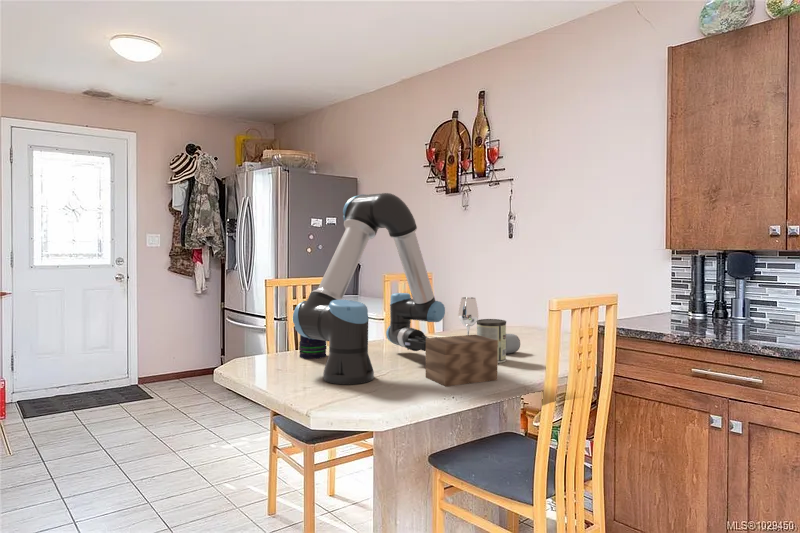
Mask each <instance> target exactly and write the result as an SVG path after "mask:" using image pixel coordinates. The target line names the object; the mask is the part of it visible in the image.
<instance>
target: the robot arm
mask: <svg viewBox="0 0 800 533" xmlns="http://www.w3.org/2000/svg"><path fill="white" fill-rule="evenodd" d="M342 214H343V215H342V218H343V227H344V229H345V230H344V232H343V234H342V236H341V238H340V240H339V243H338V245H337V246H336V249H335V252H334V254H333V255H332V258H331V259H330V261H329V264H328V265H327V266H328V267H327V268H326V271H325V272H324V275H323V277H322V278H321V281H320V283H319V286H318V288H317V289H314V290H312V291H311V292H309V296H308V297H307V300H303V301H302V302H299V303H298V304H297V305H296V306H295V308H294V310H293V314H292V323H293V324H294V325H293V326H294V329H295V331H296V332H297V333H298V334H299V336H300V335H301V336H303V337H307V338H309V339H318V340H324V341H326V342H328V345H329V346H328V347H329V352H328V356H327V360H326V362H325V366H324V369H323V374H322V375H323V376H322V377H323V378H322V379H323V381H325V382H327V383H331V384H334V385H335V384H336V385H359V384H364V383H365V384H366V383H369V382H371V381H373V380H374V378H375V376H374V375H375V374H374V373H375V372H374V368H373V365H372V362H371V359H370V355H369V310H368V306H367V305H366V304H365V303H363V302H362V301H361V302H360V301H358V300H352V299H351V300H349V299H348V300H347V299H343V298H344V296H345V295H346V294H345V293H346V291H347V289H348V287H349V285H350V283H351V280H352V278H353V276H354V274H355V272H356V269H357V267H358V266H359V265H358V264H359V262H360V260H361V258H362V255H363V253H364V251H365V250H366V247H367V245H368V243H369V240H372V239H375V237H376V235H377V233H378V231H379V229H386V230H387V232H388V235H389V237H390V238H392V239H393V240H394V243H395V247H396V249H397V250H396V251H397V252H398V256H399V259H400V263H401V265H402V268H403V272H404V275H405V278H406V281H407V284H408V287H409V291H410V293H411V294H410V293H408V292H395V293H394V292H393V293H391V295H390V303H389V306H390V309H389V310H390V315H389V316H390V318H389V319H390V323H389V326H387V329H386V332H385V336H386V339H387V340H388V341H389V342H390V343H392V344H394V345H396V346H400V347H402V348H405V349H406V350H407V351H413V352H418V351H423V352H426V338H429V337H427V336H426V334H425V333H424V332H423V331H422V330H420V329H416V328H414V327H411V321H420V322H421V321H422V322H426V323H427V322H428V323H439V322H441V321H443V319H444V317H445V314H446V307H445V305H444V304H443V302H442V301H439V300H436V298H435V295H434V294H435V293H434V292H433V291H434V290H433V289H432V284H431V282H430V278H429V275H428V272H427V268H426V265H425V260H424V258H423V254H422V251H421V247H420V244H419V240H418V236H417V234H416V232H417V229H418V226H417V223H416V219H415V217H414V215H413V213H412V211H411V209H409V207H408V205H407V204H406V203H405V202H404V201H403V200H402V198H400V197H398V196H397V195H396V194H392V193H389V192H382V193H371V194H363V193H362V194H359V195H354V196H352V197H351V198H349V199H348V200H347V201H346V202H345V204H344V206H343V208H342ZM434 338H437V336H436V337H434Z"/></svg>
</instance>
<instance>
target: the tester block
mask: <svg viewBox="0 0 800 533" xmlns="http://www.w3.org/2000/svg"><path fill="white" fill-rule="evenodd" d="M436 337H437V336H436ZM497 359H498V340H494V339H491V338H487V337H483V336H479V335H477V334H469V335H467V334H465V335H453V336H451V335H450V336H440V337H437V338H435V337H428V338H426V351H425V378H426V379H429V380H430V381H432V382H434V381H435V383H437V384H439V385H441V386H444V387H451V386H452V387H453V386H459V385H467V384H469V385H470V384H477V383H484V382H492V381H498V363H497Z"/></svg>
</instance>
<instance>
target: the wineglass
mask: <svg viewBox="0 0 800 533" xmlns="http://www.w3.org/2000/svg"><path fill="white" fill-rule="evenodd" d="M478 308H479V307H478V304H477V299H476V297H471V296H470V297H468V296H467V297H466V296H465V297H461V298H460V304H459V308H458V314H457V316H458V321H459V322H460V324H462V325H463V326H464V327H466V335H470V328H471V327H473V326H474V325H475V324H477V320H479V309H478Z"/></svg>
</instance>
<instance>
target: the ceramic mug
mask: <svg viewBox="0 0 800 533" xmlns="http://www.w3.org/2000/svg"><path fill="white" fill-rule="evenodd" d="M520 348H521V340H520V338H519V336H518V335H517V334H515V333H506V355H507V354H514V353H516V352H518V351H519V350H520Z"/></svg>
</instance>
